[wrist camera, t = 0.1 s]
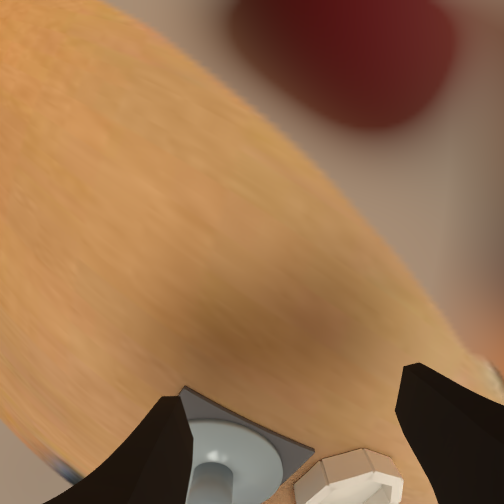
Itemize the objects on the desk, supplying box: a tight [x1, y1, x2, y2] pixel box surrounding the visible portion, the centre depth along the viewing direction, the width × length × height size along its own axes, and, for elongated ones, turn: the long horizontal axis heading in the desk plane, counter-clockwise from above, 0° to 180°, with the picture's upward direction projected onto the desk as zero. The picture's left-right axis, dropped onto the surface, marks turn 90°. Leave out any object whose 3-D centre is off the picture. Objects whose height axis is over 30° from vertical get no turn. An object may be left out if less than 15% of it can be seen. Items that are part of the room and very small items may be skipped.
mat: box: [178, 386, 315, 485], centre depth 21 cm, size 11×11×1 cm
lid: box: [185, 418, 283, 504], centre depth 18 cm, size 10×10×5 cm
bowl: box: [293, 448, 404, 504], centre depth 20 cm, size 9×9×3 cm
